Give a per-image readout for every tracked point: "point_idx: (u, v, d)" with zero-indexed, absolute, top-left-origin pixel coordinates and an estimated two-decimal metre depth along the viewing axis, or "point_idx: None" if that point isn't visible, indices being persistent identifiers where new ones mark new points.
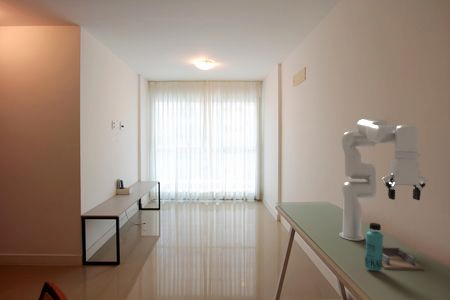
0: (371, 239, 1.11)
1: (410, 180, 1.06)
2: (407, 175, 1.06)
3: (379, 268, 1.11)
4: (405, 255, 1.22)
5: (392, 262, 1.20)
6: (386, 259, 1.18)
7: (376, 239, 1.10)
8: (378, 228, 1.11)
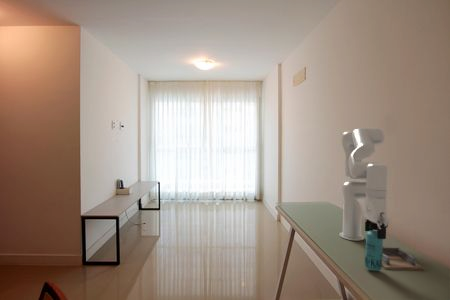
0: (371, 239, 1.11)
1: None
2: None
3: (379, 268, 1.11)
4: (405, 255, 1.22)
5: (392, 262, 1.20)
6: (386, 259, 1.18)
7: (376, 239, 1.10)
8: (378, 228, 1.11)
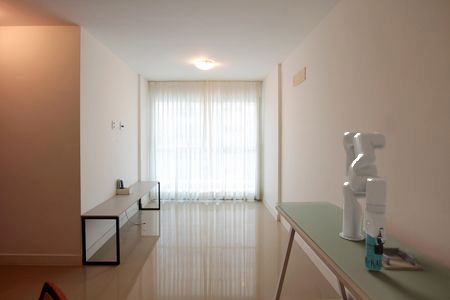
0: (371, 239, 1.11)
1: None
2: None
3: (379, 268, 1.11)
4: (405, 255, 1.22)
5: (392, 262, 1.20)
6: (386, 259, 1.18)
7: None
8: None
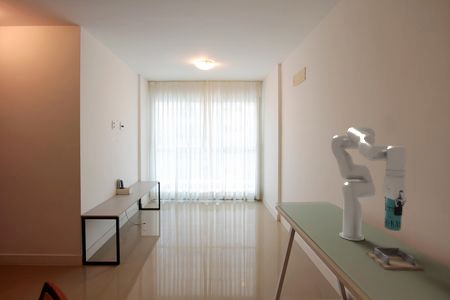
0: (391, 202, 1.20)
1: None
2: None
3: (398, 228, 1.20)
4: (405, 255, 1.22)
5: (392, 262, 1.20)
6: (386, 259, 1.18)
7: None
8: None
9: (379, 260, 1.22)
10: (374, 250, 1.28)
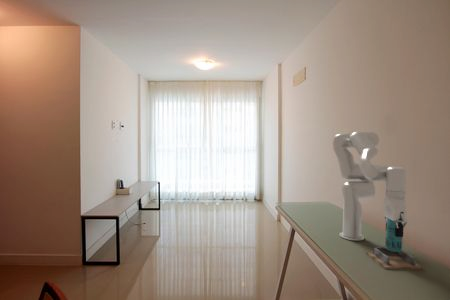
0: (391, 223, 1.21)
1: None
2: None
3: (399, 249, 1.20)
4: (405, 255, 1.22)
5: (392, 262, 1.20)
6: (386, 259, 1.18)
7: None
8: None
9: (379, 260, 1.22)
10: (374, 250, 1.28)
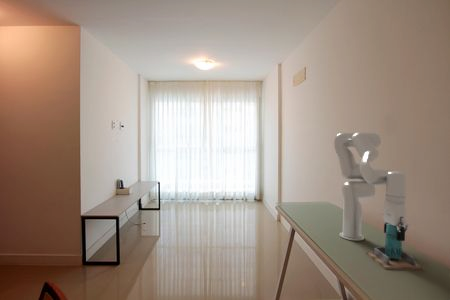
0: (391, 230, 1.21)
1: None
2: None
3: (399, 256, 1.21)
4: (405, 255, 1.22)
5: (392, 262, 1.20)
6: (386, 259, 1.18)
7: (396, 229, 1.20)
8: None
9: (379, 260, 1.22)
10: (374, 250, 1.28)
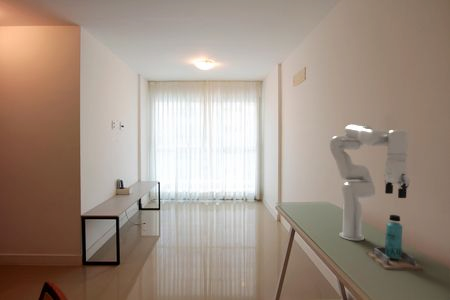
0: (391, 230, 1.21)
1: None
2: None
3: (399, 256, 1.21)
4: (405, 255, 1.22)
5: (392, 262, 1.20)
6: (386, 259, 1.18)
7: (396, 230, 1.20)
8: (398, 219, 1.21)
9: (379, 260, 1.22)
10: (374, 250, 1.28)
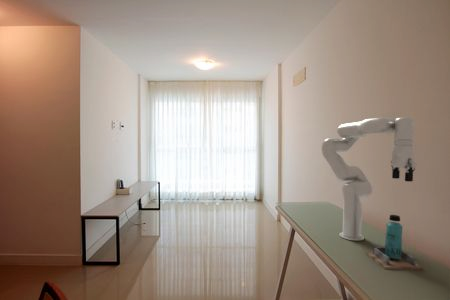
0: (391, 230, 1.21)
1: None
2: None
3: (399, 256, 1.21)
4: (405, 255, 1.22)
5: (392, 262, 1.20)
6: (386, 259, 1.18)
7: (397, 230, 1.20)
8: (398, 219, 1.21)
9: (379, 260, 1.22)
10: (374, 250, 1.28)
